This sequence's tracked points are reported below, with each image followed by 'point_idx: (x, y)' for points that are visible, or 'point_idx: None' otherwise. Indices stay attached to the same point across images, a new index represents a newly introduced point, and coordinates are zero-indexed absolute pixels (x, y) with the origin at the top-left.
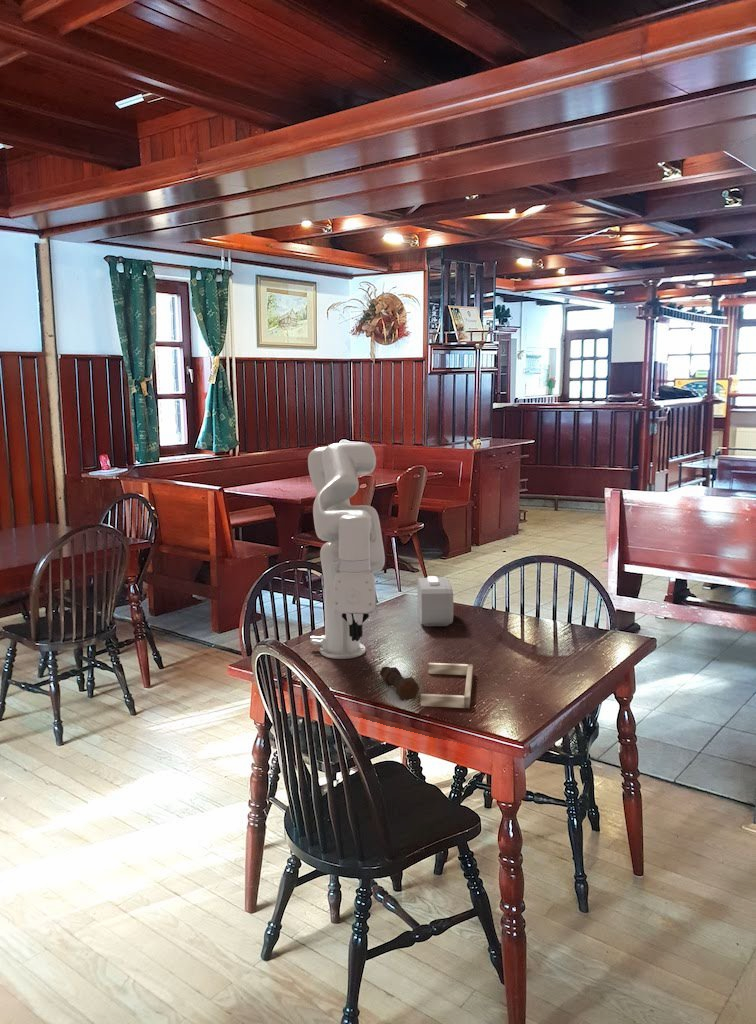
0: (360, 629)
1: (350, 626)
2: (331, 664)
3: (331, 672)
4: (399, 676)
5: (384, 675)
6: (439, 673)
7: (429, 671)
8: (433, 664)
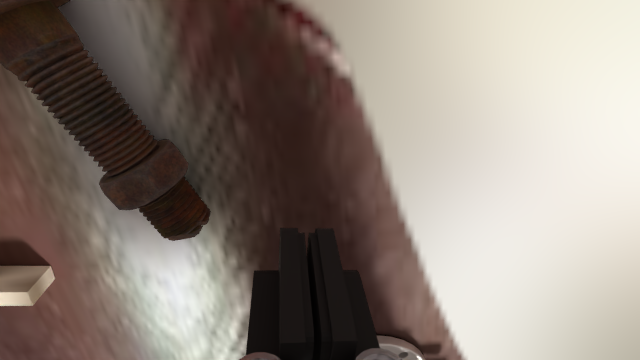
0: (258, 318)
1: (365, 342)
2: (392, 301)
3: (392, 246)
4: (69, 114)
5: (170, 162)
6: (5, 267)
7: (41, 271)
8: (5, 292)
